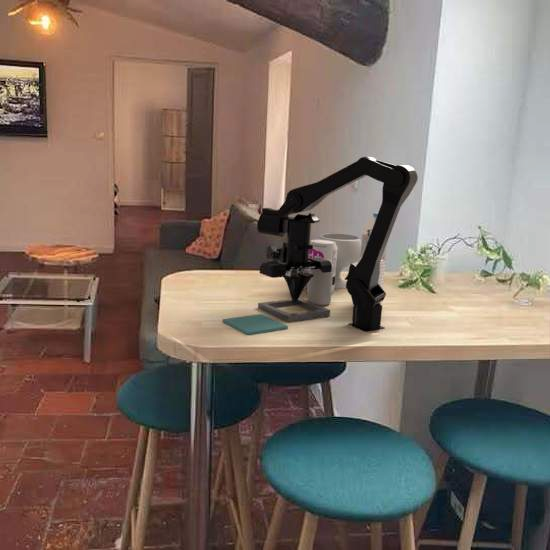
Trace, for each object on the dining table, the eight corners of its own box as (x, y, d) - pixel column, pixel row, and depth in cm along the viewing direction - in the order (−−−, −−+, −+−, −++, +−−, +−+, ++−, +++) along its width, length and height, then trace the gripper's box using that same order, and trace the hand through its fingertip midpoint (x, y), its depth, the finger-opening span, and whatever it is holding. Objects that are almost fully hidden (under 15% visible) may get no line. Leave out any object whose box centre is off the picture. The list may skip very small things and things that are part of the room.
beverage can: (334, 303, 169) (337, 259, 166) (323, 308, 163) (327, 263, 160) (313, 299, 172) (316, 256, 169) (302, 304, 166) (305, 259, 164)
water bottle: (351, 305, 167) (359, 212, 162) (360, 300, 173) (368, 210, 168) (376, 310, 164) (385, 215, 159) (384, 305, 170) (393, 213, 165)
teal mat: (287, 328, 144) (288, 326, 144) (247, 335, 138) (247, 332, 138) (261, 316, 153) (261, 313, 153) (222, 321, 147) (222, 319, 146)
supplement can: (319, 298, 173) (322, 244, 170) (299, 291, 180) (302, 240, 176) (339, 294, 179) (343, 242, 175) (319, 288, 185) (323, 238, 181)
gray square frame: (329, 315, 156) (330, 310, 156) (288, 322, 149) (288, 316, 149) (298, 303, 167) (298, 297, 166) (257, 308, 159) (258, 303, 159)
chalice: (367, 285, 192) (371, 237, 188) (345, 293, 180) (350, 242, 177) (327, 278, 199) (331, 231, 196) (304, 285, 188) (307, 235, 185)
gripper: (308, 232, 166) (304, 290, 169) (248, 235, 155) (245, 296, 158) (335, 239, 157) (330, 299, 160) (274, 243, 146) (270, 307, 149)
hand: (294, 300), depth 157 cm, fingers closed
